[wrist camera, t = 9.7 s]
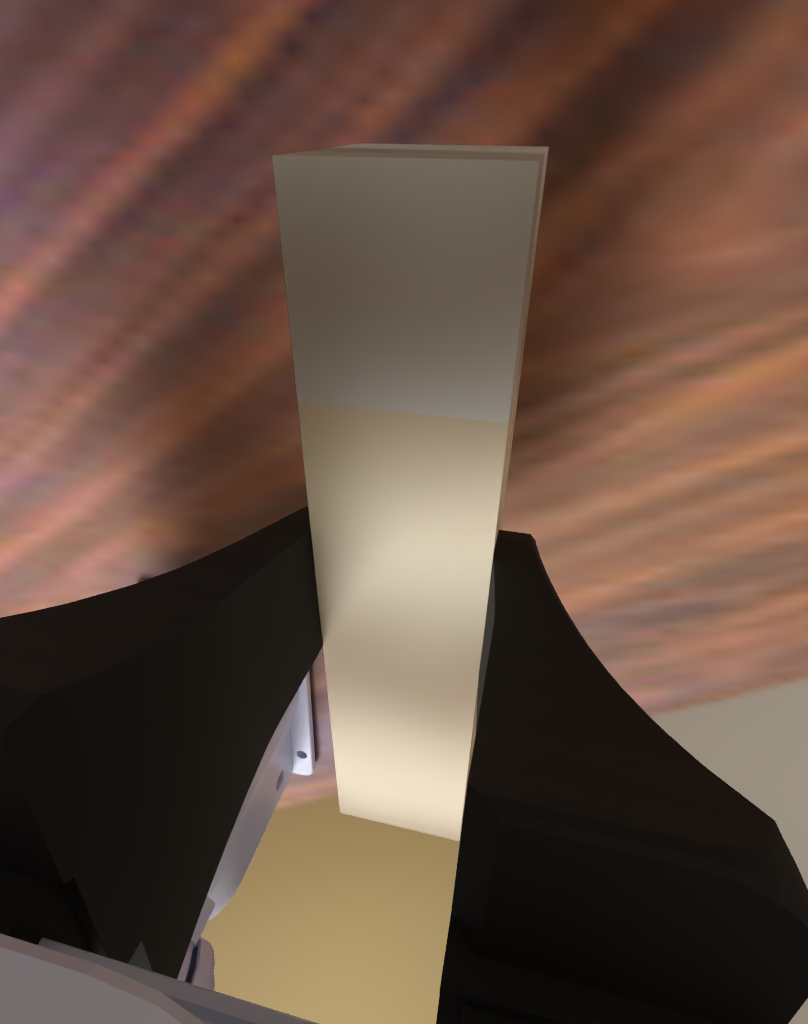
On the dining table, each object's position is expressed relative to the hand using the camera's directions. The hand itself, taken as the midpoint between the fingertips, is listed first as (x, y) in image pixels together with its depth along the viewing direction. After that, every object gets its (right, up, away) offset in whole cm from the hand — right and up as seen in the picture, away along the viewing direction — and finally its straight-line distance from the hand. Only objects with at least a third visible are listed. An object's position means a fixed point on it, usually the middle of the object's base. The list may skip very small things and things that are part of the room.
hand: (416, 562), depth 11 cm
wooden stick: (0, +1, +2) cm, 2 cm away
